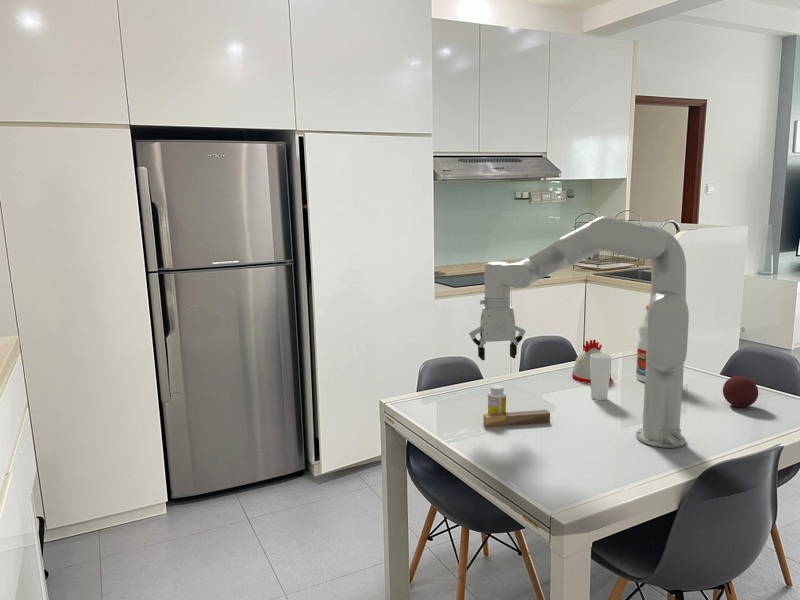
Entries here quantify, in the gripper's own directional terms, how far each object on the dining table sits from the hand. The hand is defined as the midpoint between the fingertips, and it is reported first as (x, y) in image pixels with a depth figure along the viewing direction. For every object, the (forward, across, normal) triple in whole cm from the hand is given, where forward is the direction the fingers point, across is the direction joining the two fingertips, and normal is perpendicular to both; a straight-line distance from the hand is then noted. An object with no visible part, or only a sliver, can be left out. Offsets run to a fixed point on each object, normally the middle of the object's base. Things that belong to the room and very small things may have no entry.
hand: (497, 358), depth 182 cm
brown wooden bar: (+19, +4, -5) cm, 20 cm away
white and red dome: (+20, +48, +34) cm, 62 cm away
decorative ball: (+20, +80, -4) cm, 82 cm away
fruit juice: (+20, +68, +28) cm, 76 cm away
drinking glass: (+20, +40, +12) cm, 46 cm away
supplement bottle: (+20, 0, 0) cm, 20 cm away
